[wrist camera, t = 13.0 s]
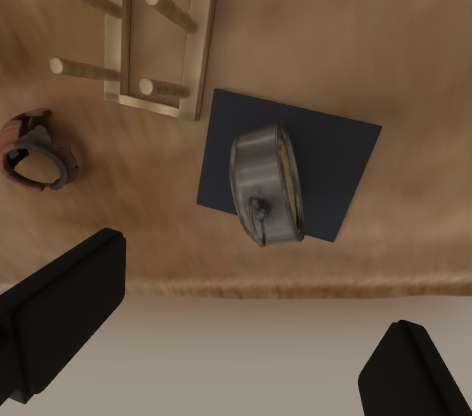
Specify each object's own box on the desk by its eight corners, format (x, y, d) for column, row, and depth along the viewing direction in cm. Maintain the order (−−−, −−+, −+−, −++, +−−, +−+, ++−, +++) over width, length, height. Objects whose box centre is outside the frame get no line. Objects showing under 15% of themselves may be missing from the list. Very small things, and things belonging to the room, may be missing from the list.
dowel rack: (227, -79, 23) (186, -191, 15) (198, 121, 30) (159, 126, 22) (115, -96, 25) (16, -207, 16) (113, 100, 32) (43, 97, 23)
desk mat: (380, 126, 27) (382, 126, 26) (333, 240, 32) (333, 242, 32) (215, 88, 29) (214, 88, 28) (197, 202, 34) (196, 203, 34)
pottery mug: (66, 95, 33) (40, 126, 27) (104, 156, 40) (90, 191, 34) (-24, 115, 33) (-68, 150, 28) (29, 172, 40) (3, 209, 34)
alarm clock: (305, 209, 31) (315, 302, 16) (261, 216, 32) (233, 308, 18) (287, 115, 28) (278, 126, 13) (239, 129, 29) (182, 151, 14)
